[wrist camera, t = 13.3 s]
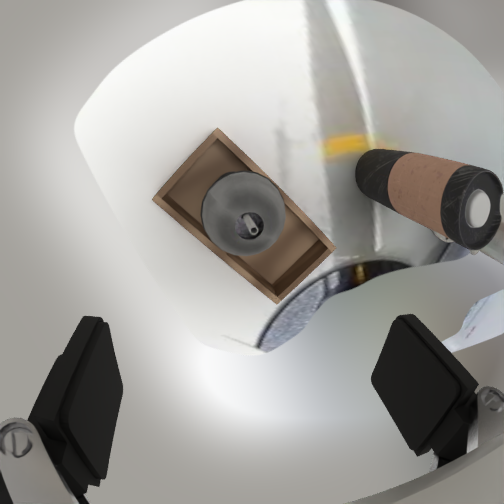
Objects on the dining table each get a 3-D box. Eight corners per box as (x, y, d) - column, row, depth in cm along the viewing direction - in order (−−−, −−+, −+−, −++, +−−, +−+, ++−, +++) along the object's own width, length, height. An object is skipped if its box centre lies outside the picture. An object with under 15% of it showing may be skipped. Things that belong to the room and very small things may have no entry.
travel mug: (343, 179, 38) (445, 222, 20) (372, 135, 36) (484, 150, 18) (379, 210, 41) (478, 266, 22) (406, 169, 39) (512, 203, 20)
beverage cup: (214, 226, 37) (223, 317, 19) (194, 172, 35) (178, 213, 16) (269, 207, 38) (329, 279, 19) (251, 152, 35) (302, 170, 16)
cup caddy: (325, 237, 41) (336, 247, 37) (270, 289, 43) (276, 304, 39) (216, 128, 34) (217, 127, 30) (157, 192, 35) (151, 199, 32)
